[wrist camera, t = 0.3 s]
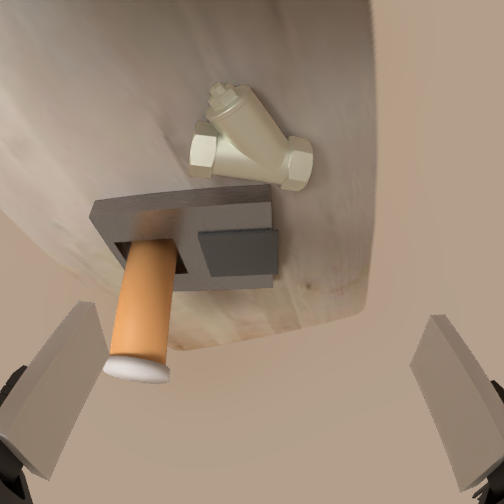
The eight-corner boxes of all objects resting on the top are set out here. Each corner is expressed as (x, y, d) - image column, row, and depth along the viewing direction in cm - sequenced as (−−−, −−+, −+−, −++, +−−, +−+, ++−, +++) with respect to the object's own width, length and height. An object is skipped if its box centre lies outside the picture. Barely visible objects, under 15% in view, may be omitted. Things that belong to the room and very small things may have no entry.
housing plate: (95, 200, 26) (88, 217, 25) (269, 184, 25) (271, 201, 24) (143, 277, 37) (140, 291, 36) (272, 272, 37) (272, 287, 36)
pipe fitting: (204, 71, 18) (192, 153, 23) (197, 91, 15) (186, 184, 20) (321, 93, 19) (294, 168, 24) (336, 118, 17) (301, 200, 22)
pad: (197, 234, 27) (197, 236, 27) (277, 229, 27) (278, 232, 27) (211, 274, 33) (211, 277, 33) (277, 271, 33) (277, 274, 33)
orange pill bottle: (120, 227, 29) (90, 364, 21) (174, 222, 29) (155, 370, 21) (139, 259, 34) (121, 380, 26) (188, 256, 34) (177, 385, 26)
